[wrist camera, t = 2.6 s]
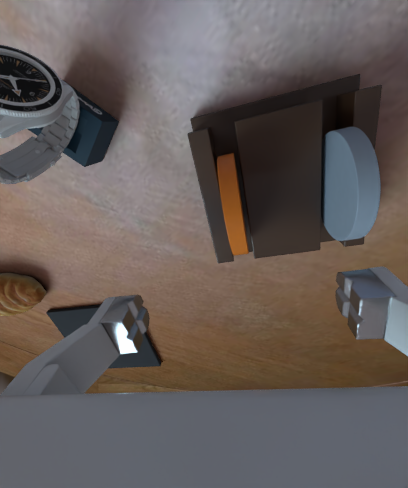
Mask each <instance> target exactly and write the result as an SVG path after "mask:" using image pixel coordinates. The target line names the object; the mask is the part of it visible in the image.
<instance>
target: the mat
mask: <svg viewBox="0 0 408 488" xmlns="http://www.w3.org/2000/svg"><path fill="white" fill-rule="evenodd" d="M100 306H101V305H92V306H83V307H73V308H64V309H54V310H48V312H47V314H48V316H49V317H50V318H51V320H52V321H53V323H54V324H55V325H56V327H57V328H58V329H59V331H60V332H61V333H62V335H63V336H64V337H67V336H68V335H70V334H71V333H73V332H74V331H76V330H77V329H79V328H80V327H81V326H83V325H87V324H88V322H89V321H90V320H91V318H92V317H93V316H94V314H95V313H96V311H97V310H98V309H99V307H100ZM142 337H143V341H142V344H141V346H140V349H139V351H138V353H127V354H119V356H118V357H117V359H116V360H115V361H114V362H113V363H112V364H111V365H110V366H109V367H108V368H126V367H150V366H161V361H160V359H159V357H158V355H157V353H156V351H155V349H154V347H153V345H152V343H151V341H150V339H149V337H148V335H147V333H146V332H145V333H144V334H142Z"/></svg>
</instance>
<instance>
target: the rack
mask: <svg viewBox="0 0 408 488" xmlns="http://www.w3.org/2000/svg"><path fill="white" fill-rule="evenodd" d="M359 85H360V74H357V75H354V76H350V77H346V78H342V79H339V80H335V81H331V82H327V83H323V84H320V85H316V86H312V87H308V88H305V89H301V90H297V91H293V92H290V93H286V94H282V95H278V96H274V97H271V98H267V99H263V100H259V101H256V102H252V103H248V104H244V105H241V106H237V107H233V108H229V109H225V110H222V111H218V112H214V113H210V114H207V115H203V116H199V117H195V118H192V119H191V124H192V128H193V132H191V133H188V138H189V142H190V147H191V151H192V155H193V159H194V164H195V168H196V172H197V176H198V181H199V185H200V189H201V193H202V198H203V202H204V206H205V210H206V215H207V219H208V223H209V227H210V232H211V236H212V240H213V245H214V249H215V253H216V257H217V262H218V263H224V262H232V261H234V255H233V253H232V250H231V247H230V243H229V239H228V235H227V230H226V225H225V219H224V214H223V208H222V201H221V195H220V187H219V179H218V167H217V159H218V156H222V155H227V154H231V153H234V158H235V163H236V170H237V176H238V182H239V189H240V195H241V202H242V208H243V215H244V222H245V229H246V236H247V243H248V250H249V252H252V251H253V254H254V258H262V257H270V256H277V255H285V254H293V253H300V252H308V251H316V250H320V242H325V241H333V240H336V239H334V238H333V237H332V236H331V235H330V234H329V233H328V231H327V229H326V228H325V226H324V223H323V221H322V218H321V162H322V139H323V137H324V136H325V135H326V134H327V133H328V132H330V131H333V130H338V129H342V128H347V127H356V128H358V129H360V130H362V131H363V132H364V133H365V134H366V136H367V137H368V138H369V140H370V142H371V144H372V146H373V148H374V150H375V141H376V132H377V124H378V115H379V106H380V98H381V89H382V85H377V86H373V87H368V88H364V89H359ZM340 242H341V243H342V244H343V245H344V246H345V247H346V246H354V245H361V244H364V237H362V238H358V239H352V240H344V241H340Z"/></svg>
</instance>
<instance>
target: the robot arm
mask: <svg viewBox="0 0 408 488" xmlns="http://www.w3.org/2000/svg"><path fill="white" fill-rule="evenodd" d="M336 282H337V283H338V285H339V287H338V289H337V290H336V302H337V306H338V308H339V311H340V312H341V314H342V315H343V316H345V317H346V318H348V326H349V328H350V329H351V331H352V333H353V334H354V336H355V338H356V339H384V340H385V341H387V342H388V343H390V344H391V345H393V346H394V347H395V348H397V349H398V350H400V351H401V352H403V353H404V354H406V355H407V356H408V287H407V286H406V285H405V284H404V283H403V282H401V281H400V280H399V279H398V278H397V277H396V276H395V275H394V274H393V273H392V272H390V271H389V270H388V269H387V268H385V267H375V268H368V269H364V270H355V271H346V272H338V273H337V277H336ZM143 302H144V301H143V299H142V297H141V296H140V295H129V296H118V297H109V298H107V299H105V300H104V302H103V303H102V304H101V306H100V307H99V309H98V310H97V311H96V313H95V314H94V316H93V317H92V318H91V320H90V321H89V322H88V324H87V325H83V326H81V327H80V328H79V329H77V330H76V331H74V332H73V333H71V334H70V335H68V336H67V337H65V338H64V339H63V340H61V341H60V342H58V343H57V344H55V345H54V346H52V347H51V348H49V349H48V350H47V351H45V352H44V353H42V354H41V355H39V356H38V357H36V358H35V359H33V360H32V361H31V362H29V363H28V364H26V365H25V366H24V368H23V369H22V370H21V371H20V372H19V373H18V375H17V376H16V377H15V378H14V379H13V381H12V382H11V383H10V384H9V385H8V387H7V388H6V389H5V390H4V391H3V393H2V394H1V395H0V488H408V386H401V387H357V388H315V389H274V390H230V391H186V392H142V393H99V394H84V393H85V392H86V391H87V390H88V388H89V387H90V386H91V385H92V384H93V383H94V382H95V381H96V380H97V379H98V378H99V377H100V376H101V375H102V374H103V372H104V371H105V370H106V369H107V368H108V367H109V366H110V365H111V364H112V363H113V362H114V361H115V360H116V359H117V357H118V356H119V354H127V353H138V351H139V349H140V346H141V344H142V341H143V337H142V334H144V333H145V332H146V331H147V329H148V326H149V319H150V318H149V313H148V311H147V309H146V308H145V307H143V306H142V304H143Z"/></svg>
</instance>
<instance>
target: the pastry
mask: <svg viewBox="0 0 408 488" xmlns="http://www.w3.org/2000/svg"><path fill="white" fill-rule="evenodd" d="M46 293H47V292H46V290H44V288H43V287H42V285H41V284H40V283H39V282H37V281H36V280H35V279H34V278H33V277H30V276H27V275H18V274H16V273H0V316H10V315H16V314H21V313H23V312H26V311H28V310H29V309H31V308H33V307H34V306H35V305H36V304H37V303H40V302H41V301H42V299H43V298H44V296H45V295H46Z"/></svg>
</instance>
